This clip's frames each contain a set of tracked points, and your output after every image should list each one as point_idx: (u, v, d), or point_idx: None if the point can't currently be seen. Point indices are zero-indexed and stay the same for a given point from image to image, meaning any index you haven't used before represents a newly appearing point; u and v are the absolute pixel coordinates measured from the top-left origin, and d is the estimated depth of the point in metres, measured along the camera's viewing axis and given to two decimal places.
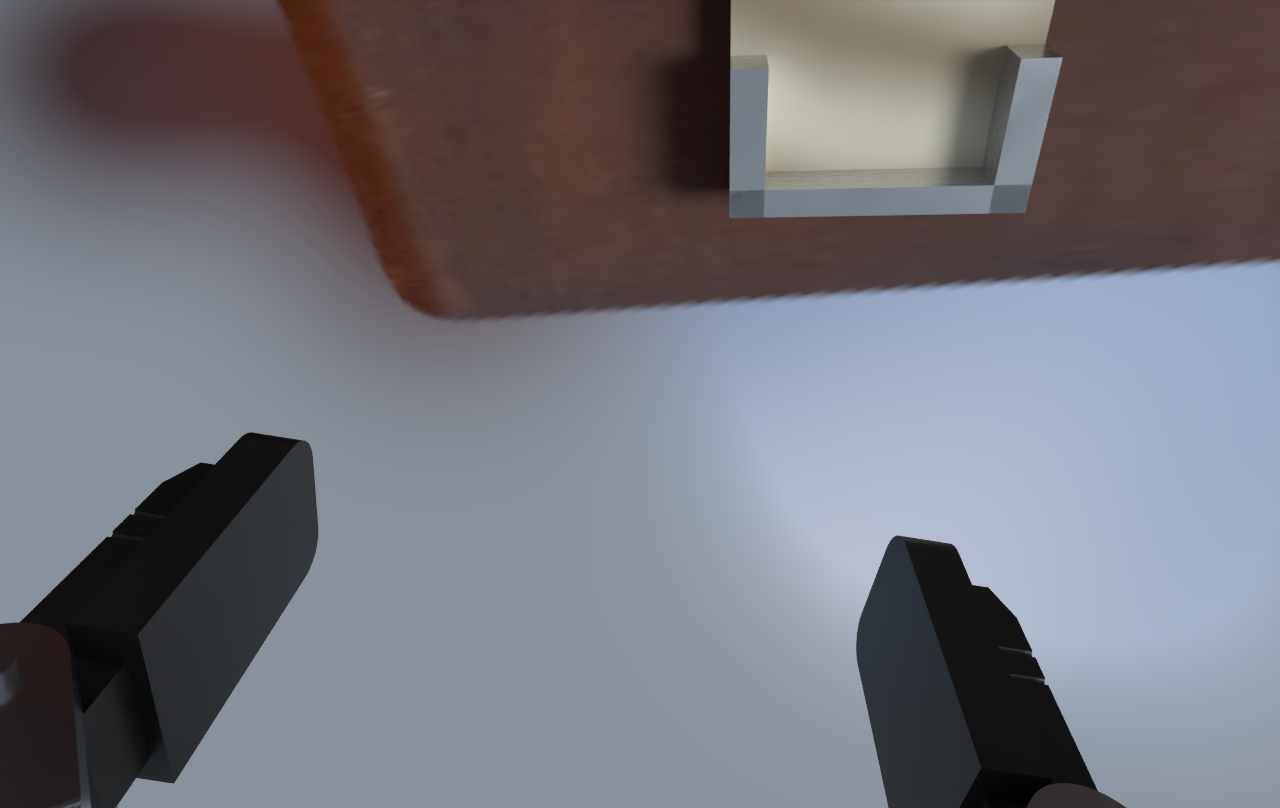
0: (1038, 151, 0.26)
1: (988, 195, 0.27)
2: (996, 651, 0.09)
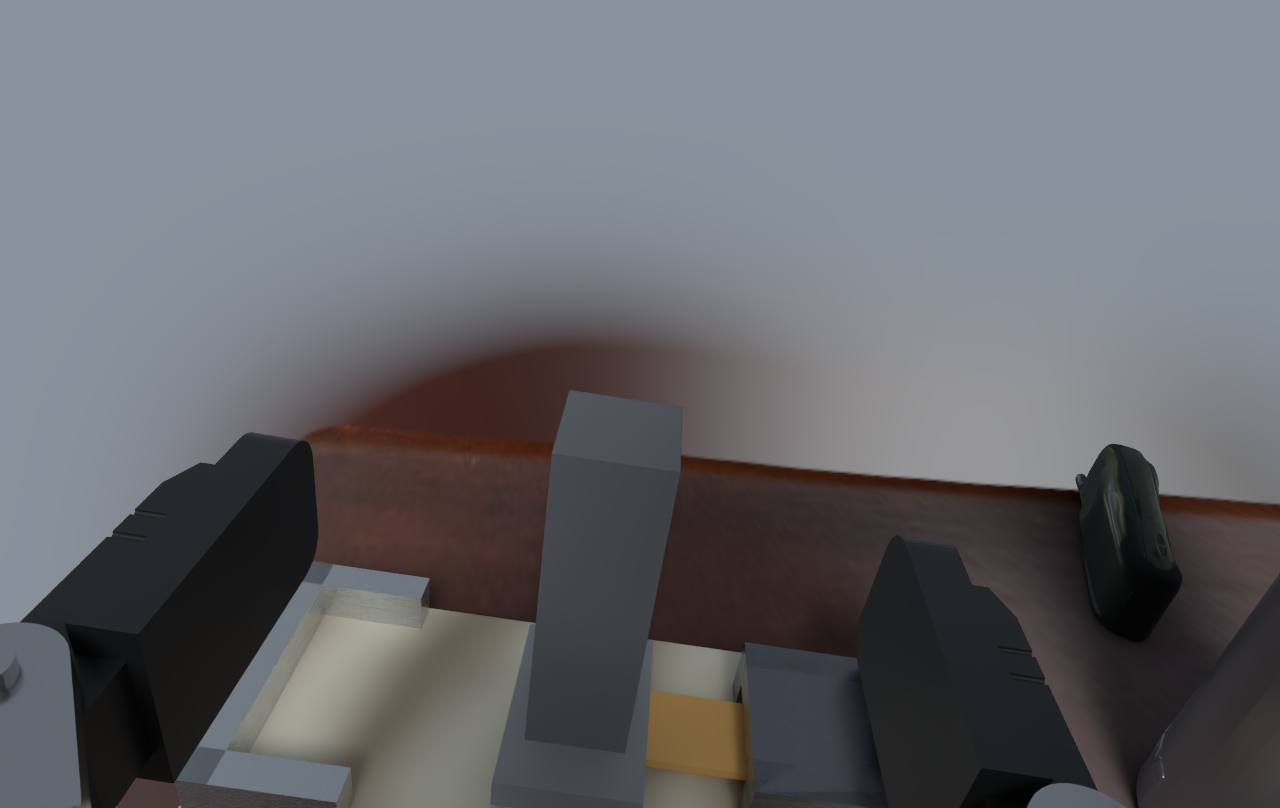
0: (241, 791, 0.25)
1: (217, 745, 0.26)
2: (996, 651, 0.09)
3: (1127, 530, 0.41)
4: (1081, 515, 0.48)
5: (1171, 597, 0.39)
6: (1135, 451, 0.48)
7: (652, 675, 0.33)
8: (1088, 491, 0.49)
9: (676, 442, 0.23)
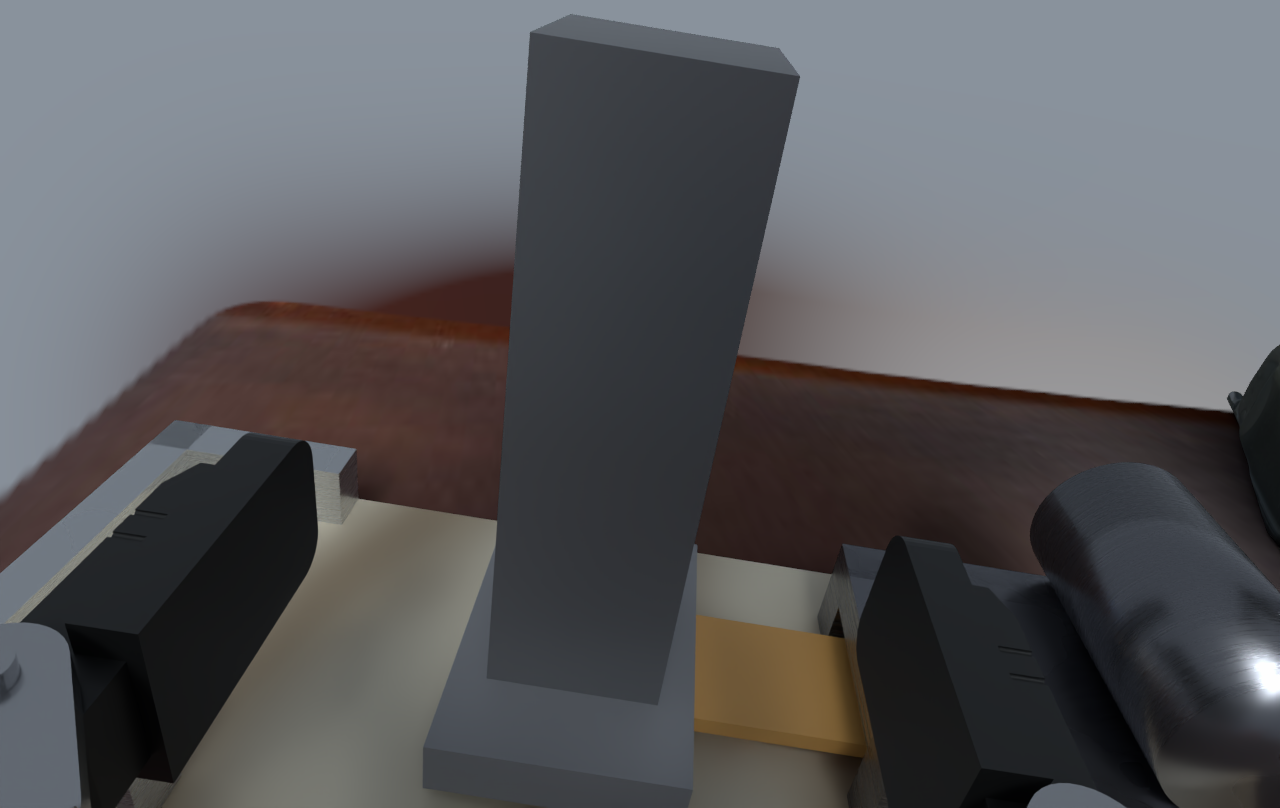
0: None
1: None
2: (996, 651, 0.09)
3: None
4: (1244, 428, 0.36)
5: None
6: None
7: None
8: (1251, 402, 0.38)
9: (780, 61, 0.12)
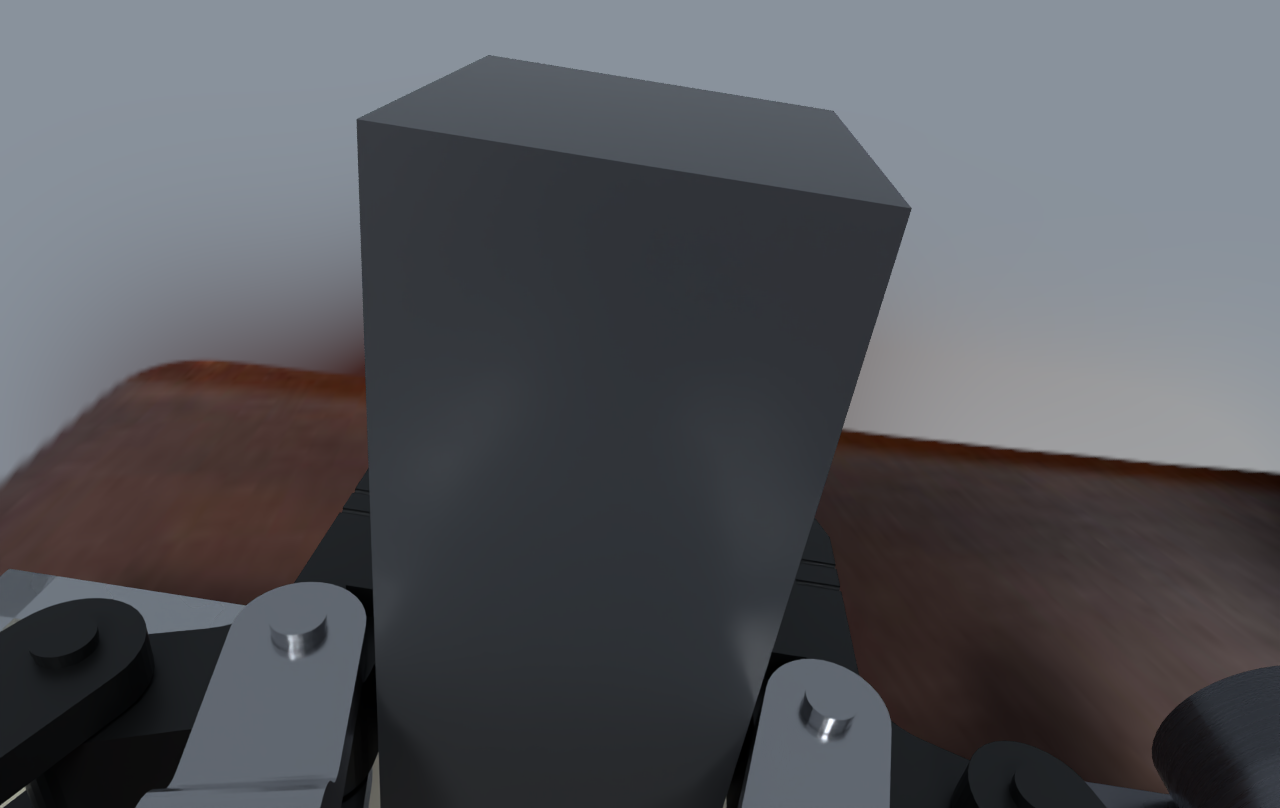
0: None
1: None
2: None
3: None
4: None
5: None
6: None
7: None
8: None
9: (852, 154, 0.06)
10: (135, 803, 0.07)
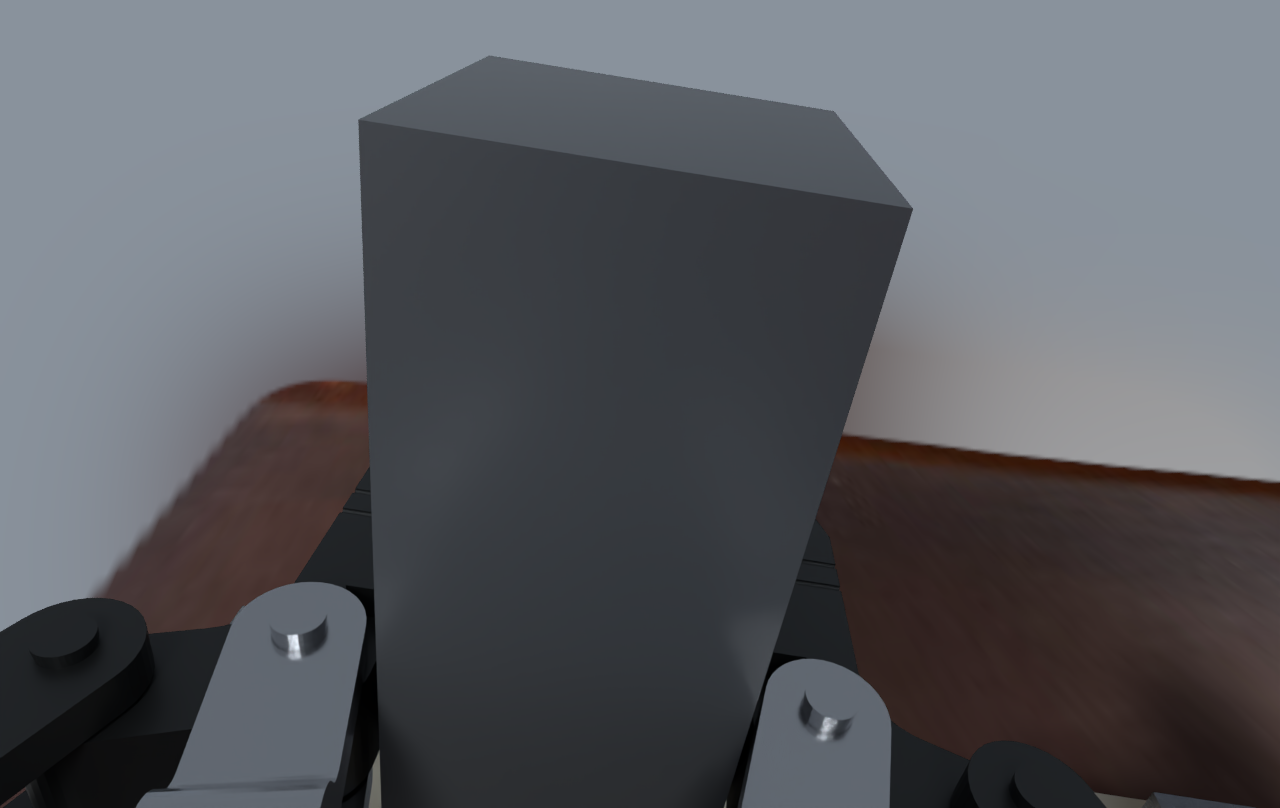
0: None
1: None
2: None
3: None
4: None
5: None
6: None
7: None
8: None
9: (853, 154, 0.06)
10: (135, 803, 0.07)
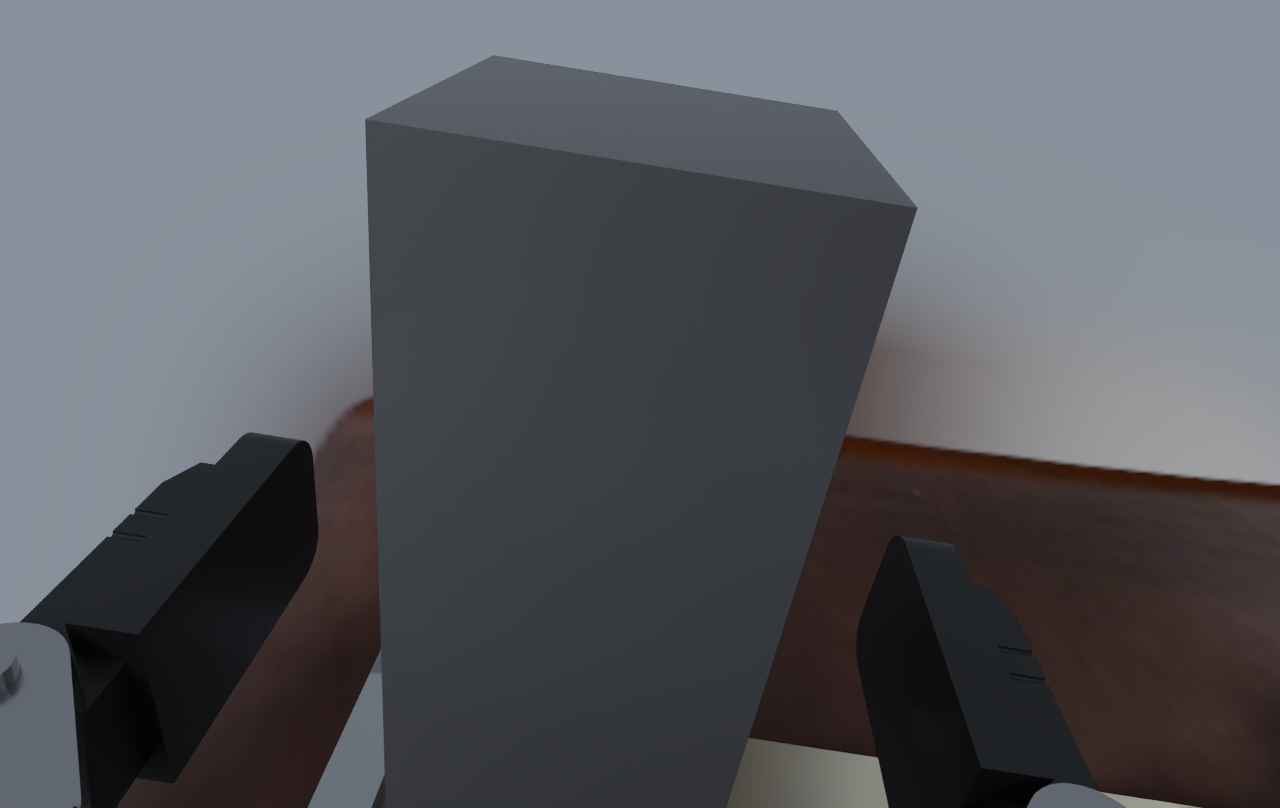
0: None
1: None
2: (996, 651, 0.09)
3: None
4: None
5: None
6: None
7: None
8: None
9: (857, 153, 0.06)
10: None
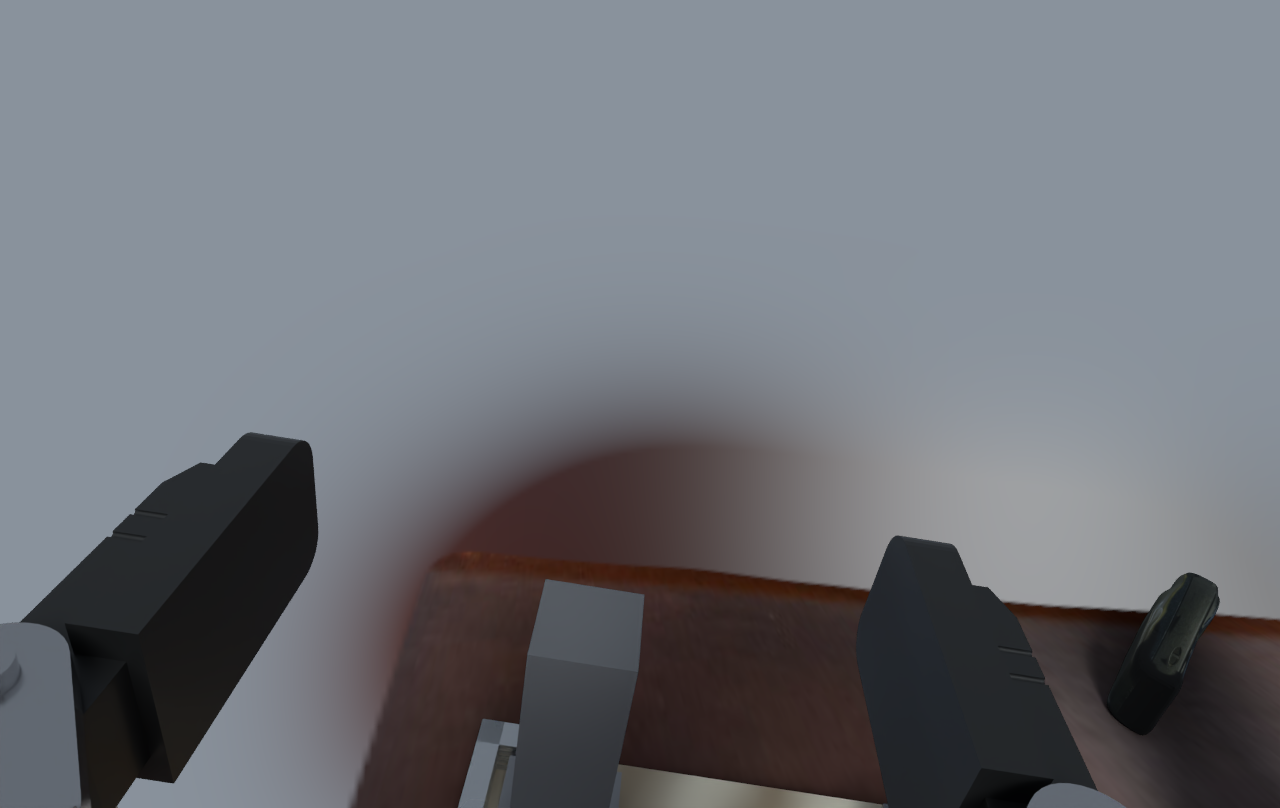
0: None
1: None
2: (996, 651, 0.09)
3: (1149, 637, 0.47)
4: (1140, 627, 0.53)
5: (1167, 699, 0.44)
6: (1210, 583, 0.52)
7: None
8: None
9: (636, 637, 0.26)
10: None
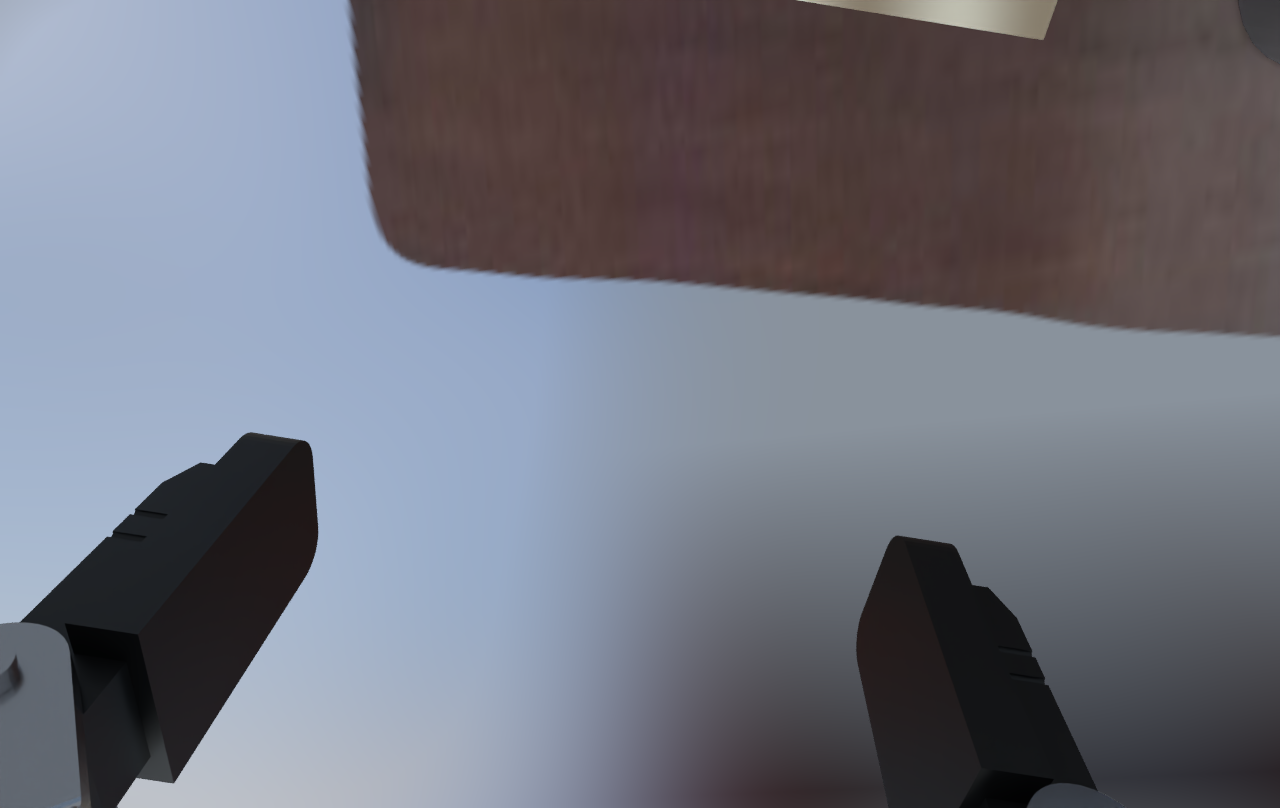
0: None
1: None
2: (996, 651, 0.09)
3: None
4: None
5: None
6: None
7: None
8: None
9: None
10: None
